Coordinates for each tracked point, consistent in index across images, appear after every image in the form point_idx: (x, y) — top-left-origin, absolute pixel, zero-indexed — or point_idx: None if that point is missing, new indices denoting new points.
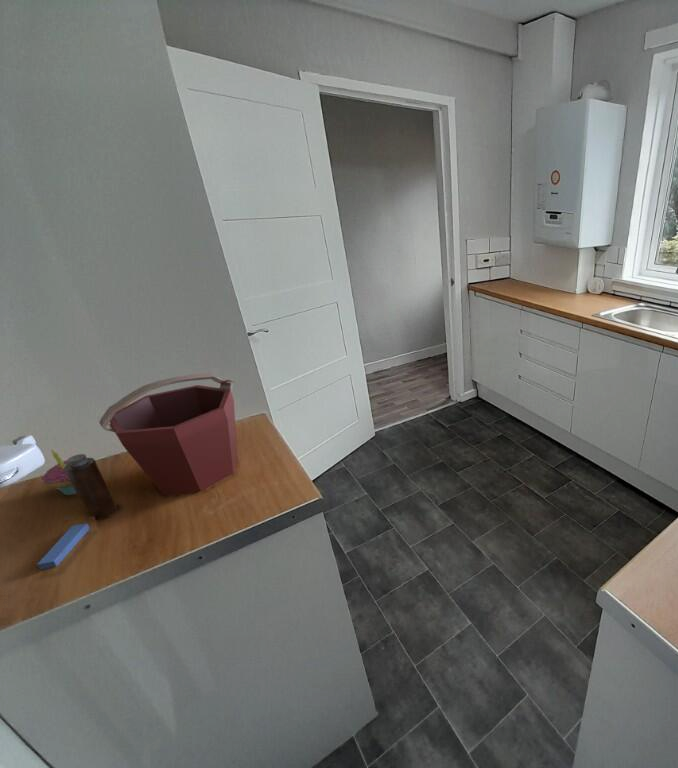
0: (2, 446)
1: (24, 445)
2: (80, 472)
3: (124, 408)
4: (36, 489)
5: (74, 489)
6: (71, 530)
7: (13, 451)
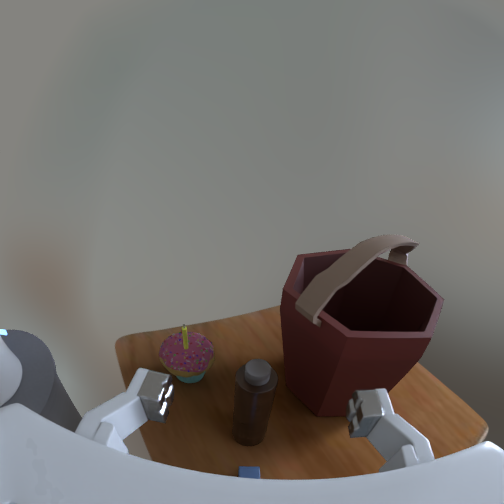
0: (426, 469)
1: (489, 455)
2: (264, 396)
3: (292, 274)
4: (139, 353)
5: (193, 378)
6: (245, 477)
7: (496, 488)
